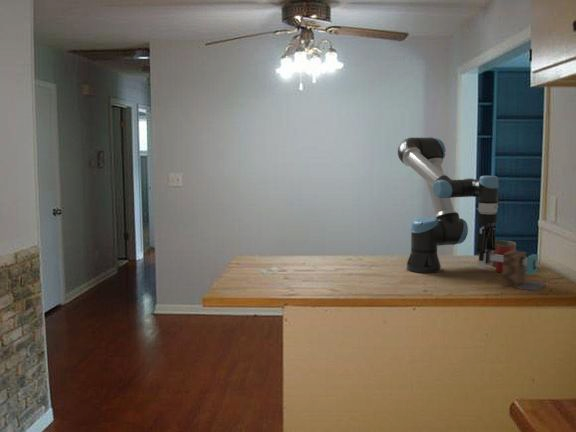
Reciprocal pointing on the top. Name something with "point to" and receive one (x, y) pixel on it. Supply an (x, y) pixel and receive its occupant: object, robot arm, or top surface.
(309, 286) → the top surface
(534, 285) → the pad
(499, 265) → the beer can
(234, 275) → the top surface
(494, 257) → the shaft
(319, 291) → the top surface
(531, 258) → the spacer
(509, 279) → the bearing block
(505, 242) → the planter
